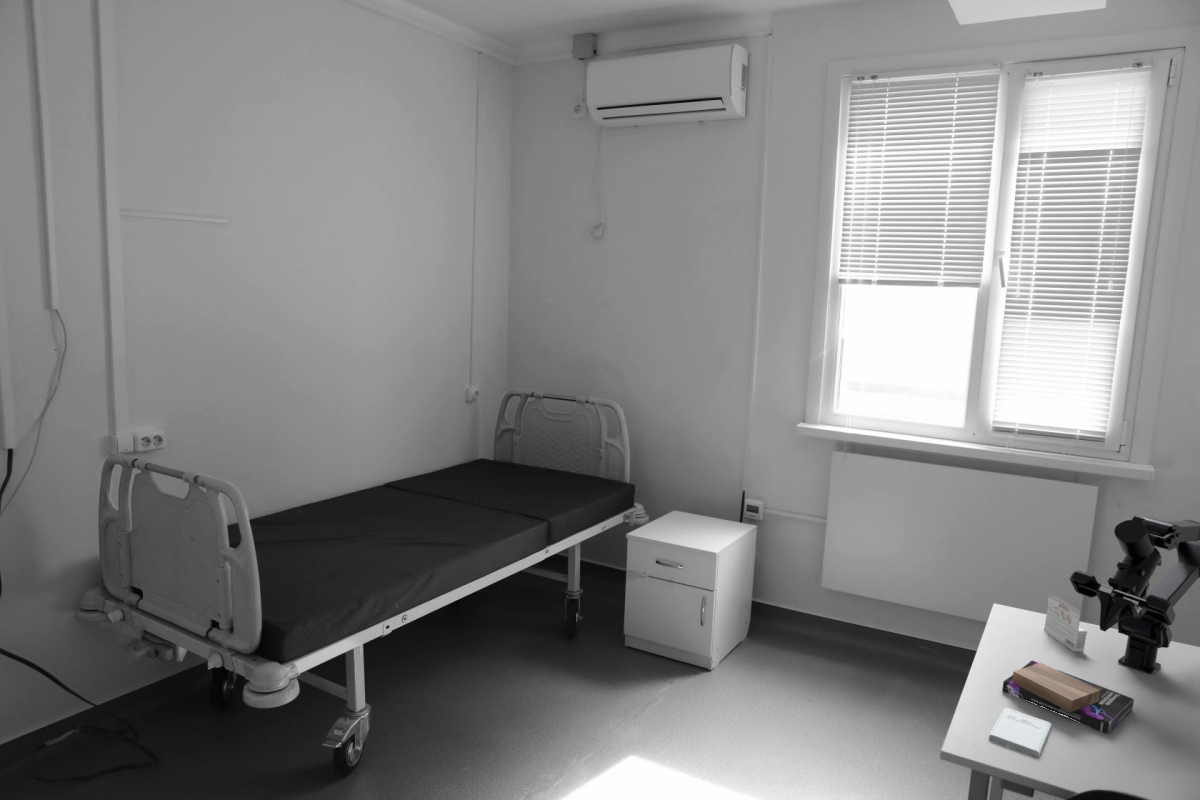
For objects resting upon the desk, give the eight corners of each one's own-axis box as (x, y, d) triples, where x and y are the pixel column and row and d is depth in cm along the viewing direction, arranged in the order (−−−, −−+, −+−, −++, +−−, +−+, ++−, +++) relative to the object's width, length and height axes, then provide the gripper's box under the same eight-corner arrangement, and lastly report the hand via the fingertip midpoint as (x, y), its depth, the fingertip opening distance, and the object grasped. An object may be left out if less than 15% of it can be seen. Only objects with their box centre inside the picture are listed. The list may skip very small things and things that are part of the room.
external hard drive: (988, 742, 149) (1003, 714, 158) (1038, 760, 144) (1051, 730, 153) (989, 733, 148) (1004, 706, 158) (1039, 751, 143) (1052, 722, 153)
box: (1000, 696, 166) (1108, 739, 152) (1002, 680, 166) (1110, 721, 151) (1029, 675, 175) (1133, 713, 161) (1031, 659, 175) (1135, 696, 160)
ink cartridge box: (1052, 630, 196) (1058, 592, 194) (1084, 652, 185) (1090, 612, 183) (1042, 630, 196) (1048, 592, 194) (1074, 652, 185) (1080, 612, 183)
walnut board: (1041, 662, 168) (1013, 671, 164) (1100, 690, 158) (1072, 700, 154) (1039, 673, 169) (1012, 682, 164) (1098, 701, 158) (1070, 712, 154)
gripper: (1194, 606, 168) (1160, 668, 164) (1099, 574, 183) (1066, 631, 179) (1183, 576, 162) (1148, 641, 158) (1086, 546, 178) (1052, 604, 174)
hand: (1102, 629), depth 168 cm, fingers closed
